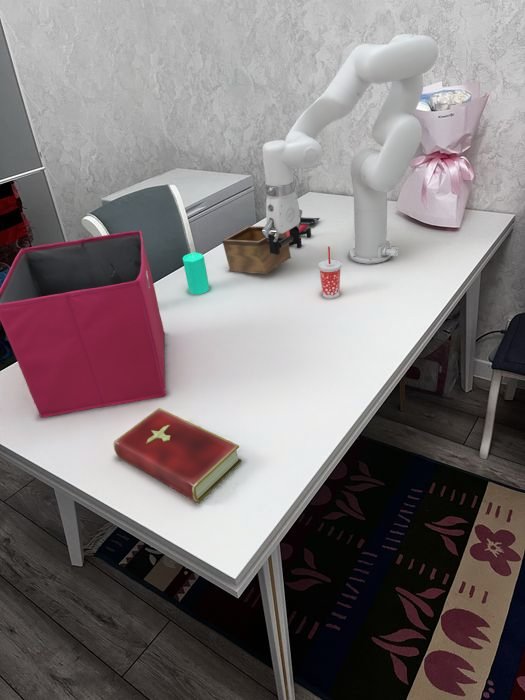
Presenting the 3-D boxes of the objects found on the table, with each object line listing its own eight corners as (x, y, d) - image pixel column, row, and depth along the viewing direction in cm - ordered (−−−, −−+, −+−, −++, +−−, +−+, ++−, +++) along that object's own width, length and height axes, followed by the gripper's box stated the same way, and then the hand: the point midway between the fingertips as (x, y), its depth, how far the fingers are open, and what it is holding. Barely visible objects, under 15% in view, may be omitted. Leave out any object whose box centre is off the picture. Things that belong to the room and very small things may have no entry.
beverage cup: (321, 289, 155) (318, 242, 148) (343, 289, 154) (341, 241, 146) (318, 299, 150) (315, 251, 143) (341, 299, 149) (339, 251, 141)
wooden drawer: (304, 258, 167) (298, 227, 162) (279, 275, 159) (272, 242, 155) (255, 255, 179) (248, 226, 175) (229, 270, 172) (221, 240, 167)
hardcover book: (196, 504, 94) (192, 487, 92) (117, 458, 106) (111, 441, 103) (241, 461, 101) (238, 444, 99) (162, 422, 113) (158, 406, 111)
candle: (189, 286, 166) (181, 249, 159) (209, 284, 166) (202, 246, 159) (188, 295, 161) (181, 257, 154) (209, 293, 161) (202, 254, 154)
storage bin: (171, 397, 120) (142, 278, 105) (37, 422, 118) (-13, 304, 103) (168, 332, 144) (144, 228, 128) (56, 352, 141) (18, 248, 126)
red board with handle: (325, 220, 198) (287, 219, 205) (324, 213, 197) (286, 211, 203) (292, 255, 177) (250, 252, 183) (291, 247, 175) (249, 244, 182)
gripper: (271, 200, 144) (277, 261, 154) (309, 180, 155) (312, 238, 164) (249, 197, 149) (256, 256, 158) (287, 178, 159) (292, 235, 169)
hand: (285, 247), depth 161 cm, fingers open, 9 cm apart
